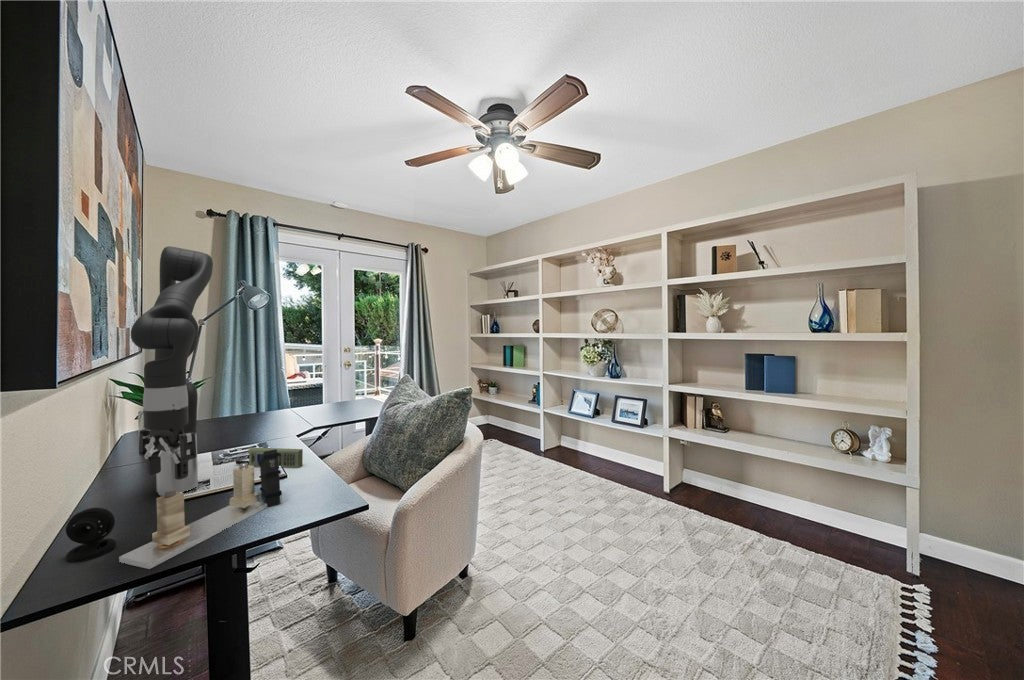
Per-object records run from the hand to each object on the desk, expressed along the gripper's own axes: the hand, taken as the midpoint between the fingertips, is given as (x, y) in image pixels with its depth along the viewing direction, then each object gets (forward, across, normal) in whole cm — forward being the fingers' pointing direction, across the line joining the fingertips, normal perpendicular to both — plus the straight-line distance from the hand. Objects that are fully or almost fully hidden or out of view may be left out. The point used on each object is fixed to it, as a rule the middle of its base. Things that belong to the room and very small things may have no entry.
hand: (167, 476), depth 86 cm
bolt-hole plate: (+17, 0, +7) cm, 18 cm away
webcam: (+17, -15, -6) cm, 23 cm away
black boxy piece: (+17, 0, +26) cm, 31 cm away
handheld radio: (+18, -23, +47) cm, 55 cm away
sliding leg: (+15, 0, 0) cm, 15 cm away
